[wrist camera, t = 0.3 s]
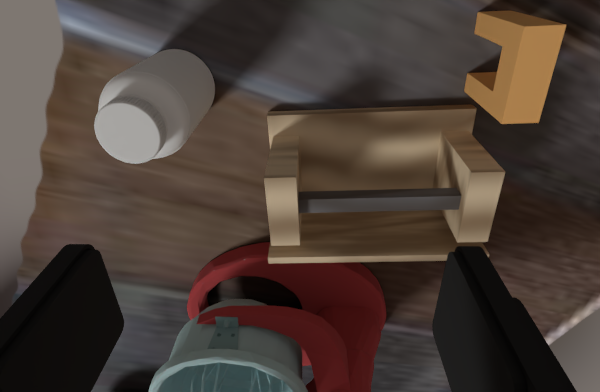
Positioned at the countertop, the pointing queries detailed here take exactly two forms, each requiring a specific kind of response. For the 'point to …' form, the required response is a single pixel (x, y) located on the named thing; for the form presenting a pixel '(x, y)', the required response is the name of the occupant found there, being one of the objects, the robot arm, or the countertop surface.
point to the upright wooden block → (516, 65)
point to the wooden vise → (377, 184)
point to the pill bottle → (154, 106)
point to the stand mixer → (278, 330)
